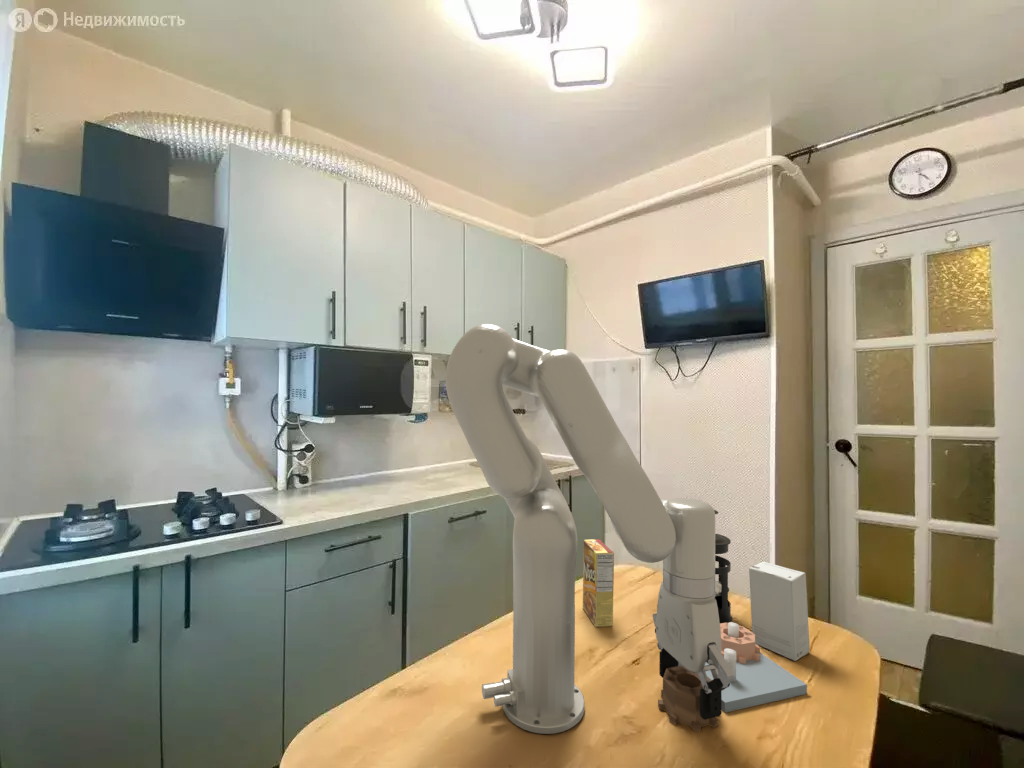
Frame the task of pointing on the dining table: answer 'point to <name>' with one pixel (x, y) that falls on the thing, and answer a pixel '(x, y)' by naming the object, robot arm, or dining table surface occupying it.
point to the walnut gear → (683, 698)
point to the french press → (722, 578)
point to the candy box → (598, 582)
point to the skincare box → (779, 609)
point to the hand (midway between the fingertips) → (688, 694)
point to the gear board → (752, 672)
